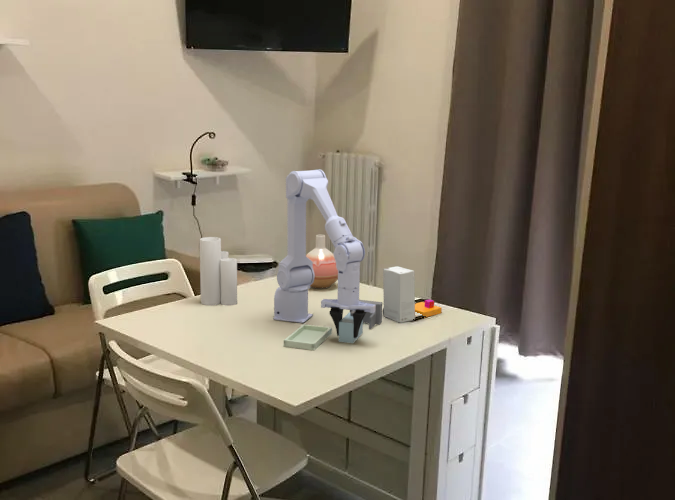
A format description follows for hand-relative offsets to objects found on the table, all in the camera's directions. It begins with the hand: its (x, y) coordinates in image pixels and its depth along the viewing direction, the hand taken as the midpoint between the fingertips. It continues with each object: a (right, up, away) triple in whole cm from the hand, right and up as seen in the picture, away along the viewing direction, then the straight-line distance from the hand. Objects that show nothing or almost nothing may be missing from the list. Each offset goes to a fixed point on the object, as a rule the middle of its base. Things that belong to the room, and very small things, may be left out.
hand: (347, 335), depth 204 cm
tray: (-10, -1, 0) cm, 11 cm away
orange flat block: (+23, +3, +27) cm, 36 cm away
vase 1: (-39, +6, +34) cm, 52 cm away
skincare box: (+15, +3, +21) cm, 26 cm away
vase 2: (-9, +10, +54) cm, 55 cm away
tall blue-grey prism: (+1, -1, +3) cm, 3 cm away
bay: (+5, +2, +14) cm, 15 cm away
